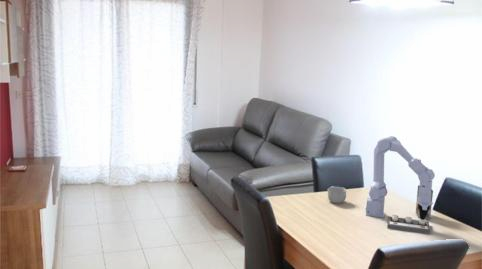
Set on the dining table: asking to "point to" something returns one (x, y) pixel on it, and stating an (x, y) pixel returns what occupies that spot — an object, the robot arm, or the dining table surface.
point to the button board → (408, 225)
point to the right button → (422, 222)
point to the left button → (394, 218)
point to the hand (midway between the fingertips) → (422, 218)
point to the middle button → (408, 220)
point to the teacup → (336, 194)
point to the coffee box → (418, 208)
